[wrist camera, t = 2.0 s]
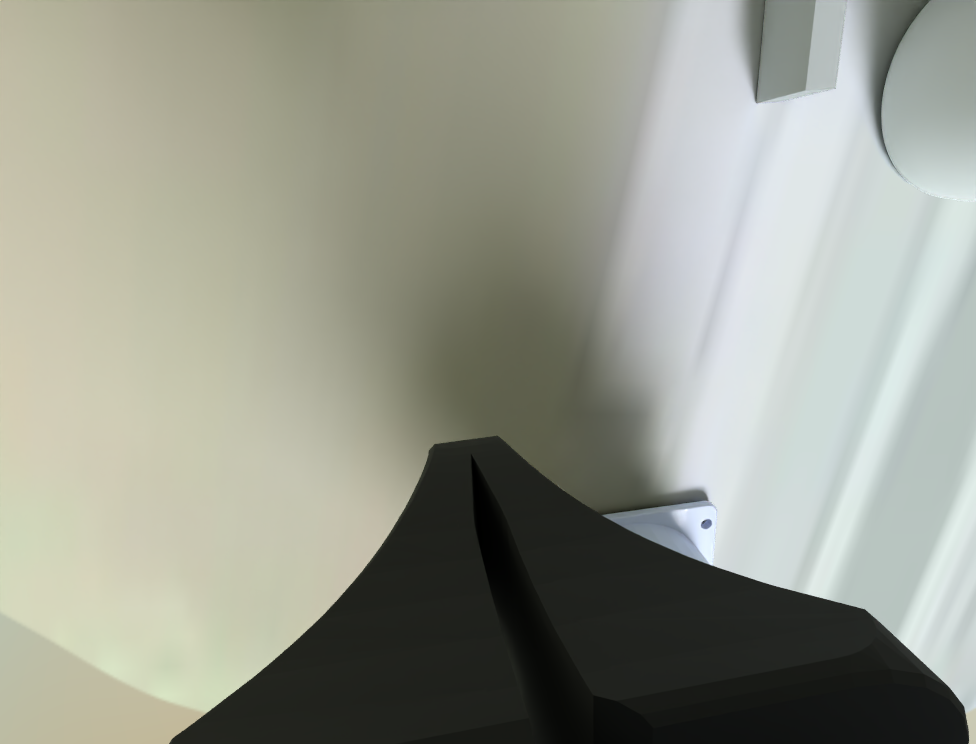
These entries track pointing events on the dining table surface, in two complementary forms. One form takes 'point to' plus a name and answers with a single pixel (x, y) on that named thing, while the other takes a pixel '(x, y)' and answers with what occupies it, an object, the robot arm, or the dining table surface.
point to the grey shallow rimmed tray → (800, 48)
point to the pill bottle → (935, 101)
